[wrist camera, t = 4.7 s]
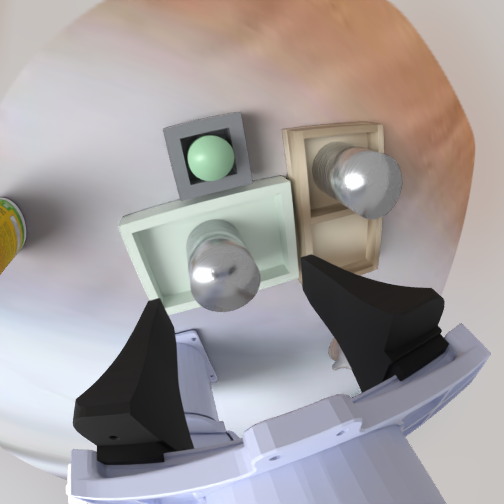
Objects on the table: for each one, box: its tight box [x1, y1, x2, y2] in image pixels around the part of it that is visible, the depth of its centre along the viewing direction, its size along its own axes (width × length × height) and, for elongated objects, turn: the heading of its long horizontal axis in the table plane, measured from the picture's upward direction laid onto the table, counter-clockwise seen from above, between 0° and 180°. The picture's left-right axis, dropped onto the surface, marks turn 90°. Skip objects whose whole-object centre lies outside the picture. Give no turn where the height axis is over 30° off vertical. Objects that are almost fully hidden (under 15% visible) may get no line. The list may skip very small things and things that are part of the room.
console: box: [163, 112, 253, 201], centre depth 18 cm, size 5×5×2 cm
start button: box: [187, 134, 234, 181], centre depth 16 cm, size 3×3×2 cm
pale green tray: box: [118, 175, 299, 315], centre depth 22 cm, size 9×13×2 cm
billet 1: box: [186, 219, 261, 312], centre depth 20 cm, size 5×5×6 cm
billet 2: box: [312, 142, 402, 220], centre depth 19 cm, size 5×5×6 cm
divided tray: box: [282, 122, 384, 284], centre depth 22 cm, size 14×8×2 cm, turn 9°
